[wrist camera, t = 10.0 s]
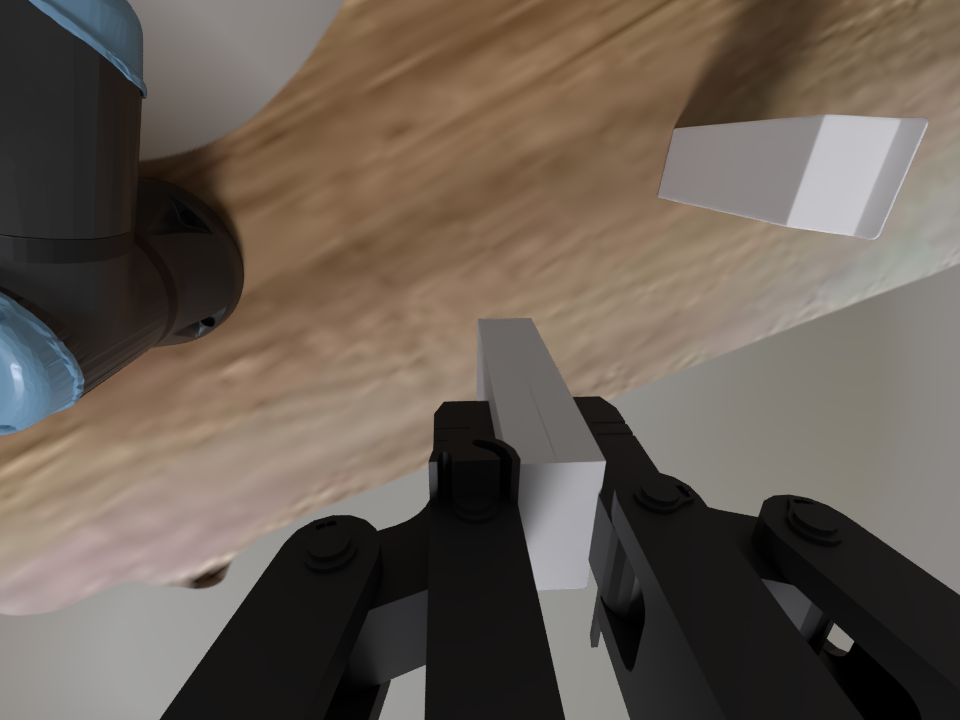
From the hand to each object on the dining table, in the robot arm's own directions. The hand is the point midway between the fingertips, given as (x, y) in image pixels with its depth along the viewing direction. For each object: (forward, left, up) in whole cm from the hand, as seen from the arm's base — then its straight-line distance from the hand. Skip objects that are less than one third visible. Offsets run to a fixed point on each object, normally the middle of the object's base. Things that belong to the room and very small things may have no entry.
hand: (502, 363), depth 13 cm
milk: (+21, +5, -34) cm, 41 cm away
